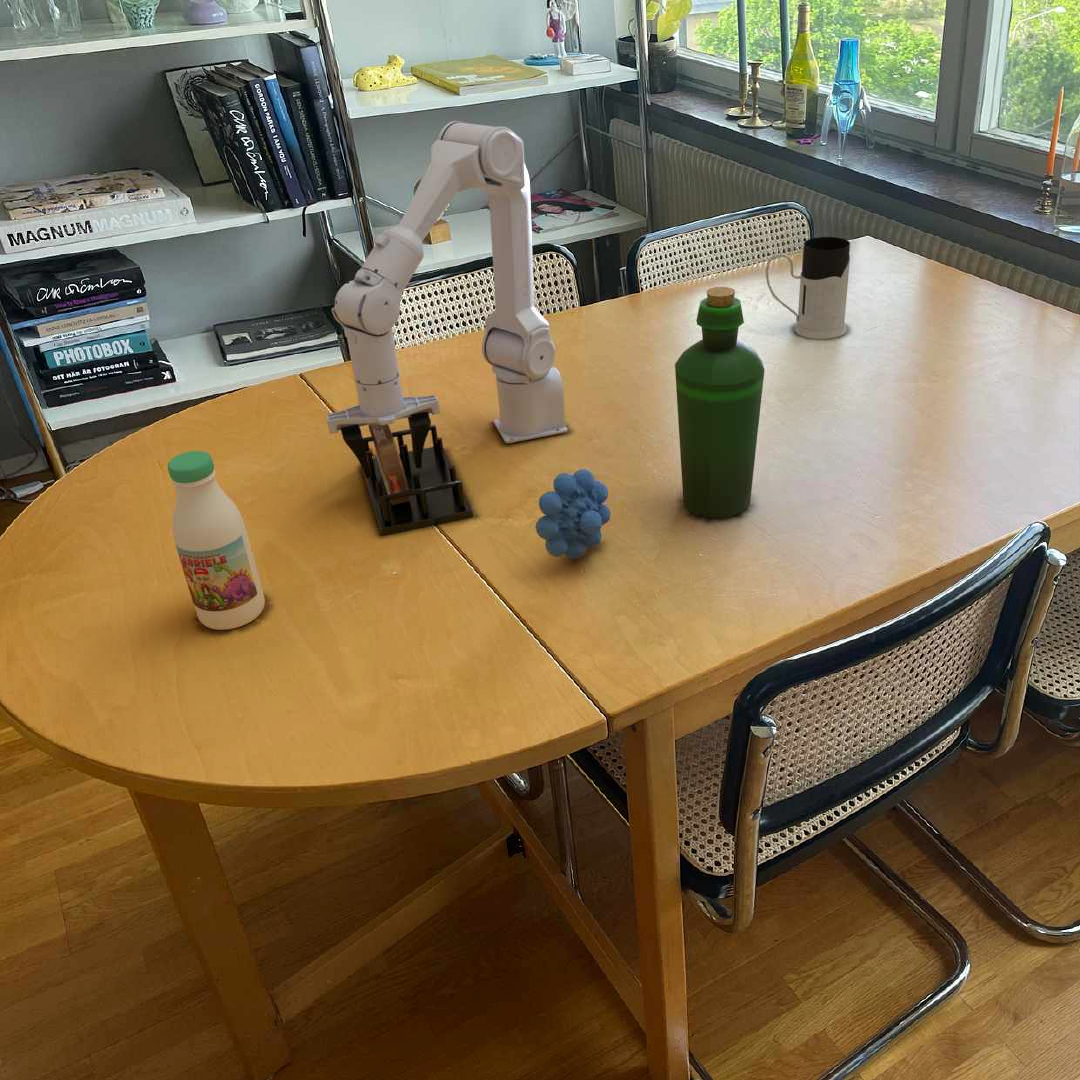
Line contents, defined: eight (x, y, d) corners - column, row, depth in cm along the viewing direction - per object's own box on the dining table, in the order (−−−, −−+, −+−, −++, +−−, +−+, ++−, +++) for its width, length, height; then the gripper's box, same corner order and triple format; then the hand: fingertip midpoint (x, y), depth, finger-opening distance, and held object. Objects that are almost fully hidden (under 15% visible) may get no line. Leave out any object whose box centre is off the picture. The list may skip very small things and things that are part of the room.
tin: (414, 512, 134) (404, 455, 130) (390, 517, 133) (380, 459, 129) (396, 462, 146) (387, 408, 142) (374, 466, 146) (364, 412, 141)
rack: (443, 451, 151) (439, 420, 148) (473, 516, 134) (469, 483, 131) (361, 466, 148) (355, 435, 146) (381, 535, 132) (375, 502, 129)
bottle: (764, 487, 135) (775, 277, 120) (751, 529, 127) (760, 310, 112) (684, 479, 138) (684, 274, 123) (665, 520, 130) (663, 305, 115)
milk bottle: (205, 596, 123) (160, 446, 112) (270, 589, 123) (231, 439, 113) (192, 635, 116) (143, 480, 106) (261, 627, 117) (218, 472, 106)
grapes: (568, 592, 118) (562, 502, 112) (527, 571, 123) (519, 483, 116) (635, 549, 125) (633, 461, 118) (594, 530, 129) (590, 444, 123)
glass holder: (852, 337, 175) (860, 249, 167) (767, 342, 176) (771, 255, 168) (840, 318, 183) (847, 234, 175) (759, 324, 183) (762, 239, 175)
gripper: (323, 398, 127) (342, 494, 134) (438, 377, 130) (451, 472, 137) (317, 377, 133) (336, 470, 140) (428, 357, 135) (441, 449, 143)
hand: (392, 469), depth 139 cm, fingers open, 6 cm apart
